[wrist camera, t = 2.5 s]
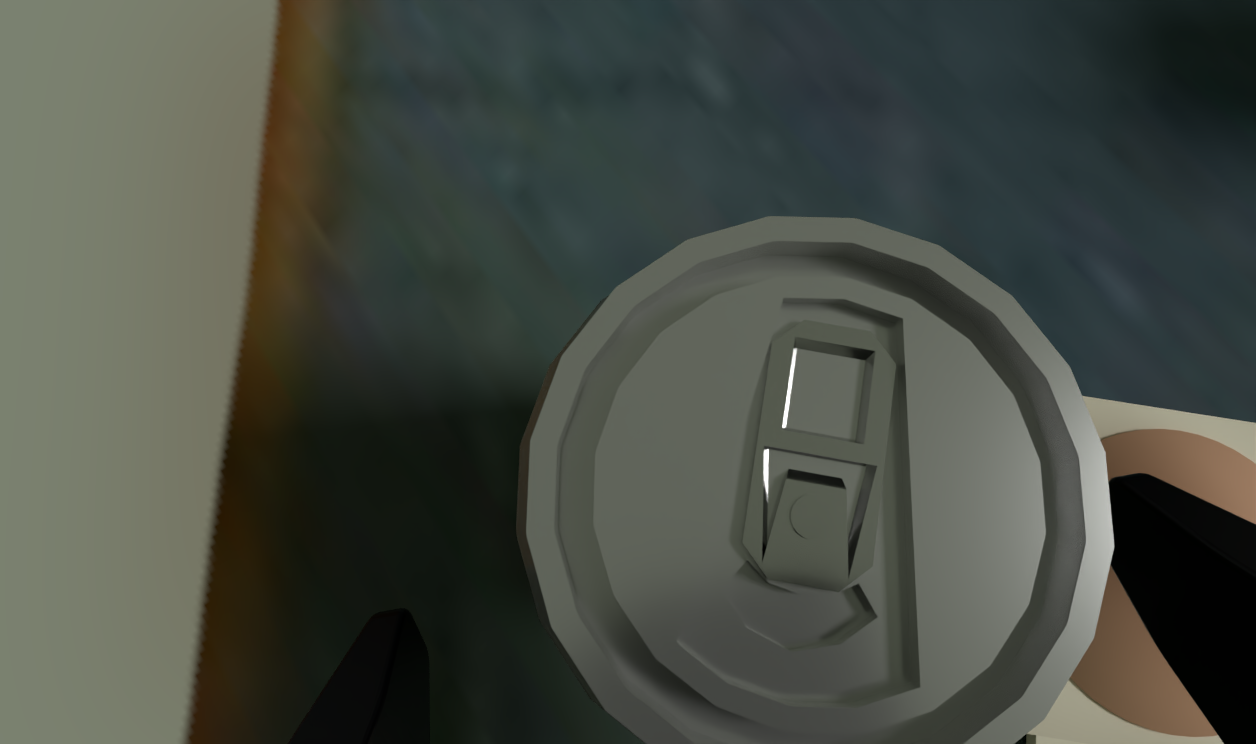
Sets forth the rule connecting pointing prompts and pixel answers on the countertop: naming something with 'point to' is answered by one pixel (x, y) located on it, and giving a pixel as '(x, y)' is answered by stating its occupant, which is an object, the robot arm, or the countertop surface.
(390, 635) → the robot arm
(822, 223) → the beer can
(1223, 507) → the t plate
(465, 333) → the countertop surface
